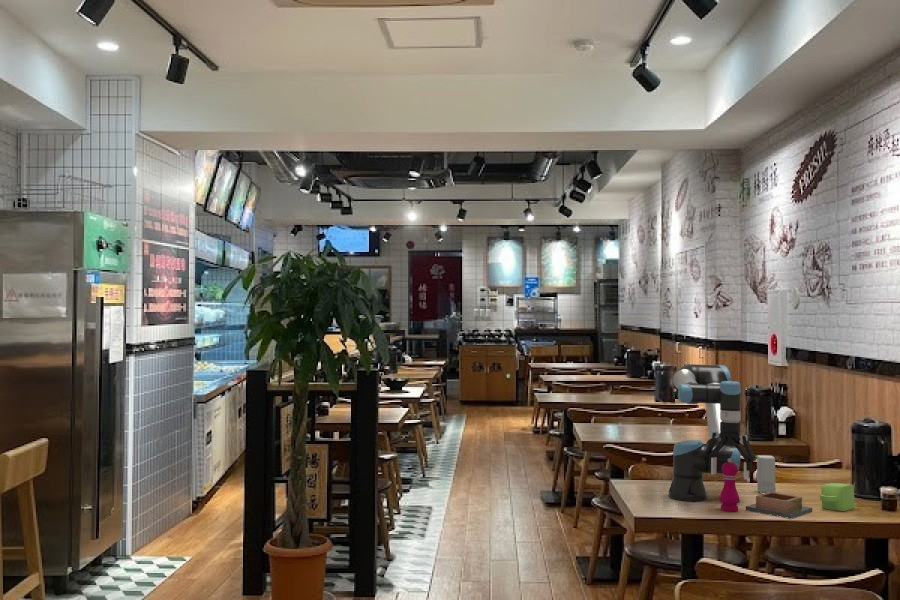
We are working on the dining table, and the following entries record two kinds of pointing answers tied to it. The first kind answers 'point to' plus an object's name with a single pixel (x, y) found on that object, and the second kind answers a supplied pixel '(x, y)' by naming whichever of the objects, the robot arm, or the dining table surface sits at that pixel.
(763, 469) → the skincare box
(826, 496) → the green bread box
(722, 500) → the pepper mill
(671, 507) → the dining table surface
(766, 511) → the plate
